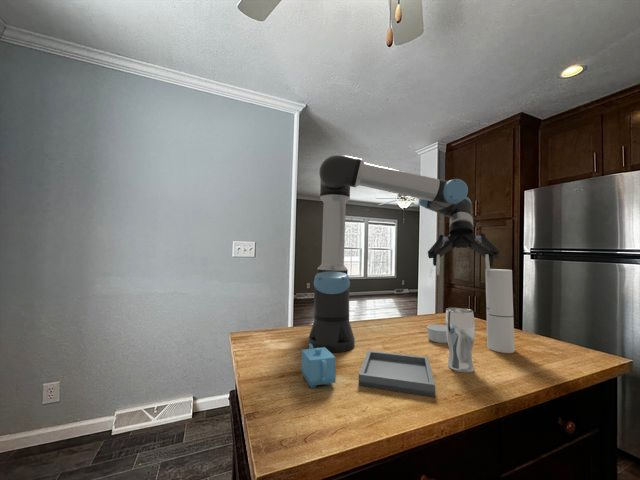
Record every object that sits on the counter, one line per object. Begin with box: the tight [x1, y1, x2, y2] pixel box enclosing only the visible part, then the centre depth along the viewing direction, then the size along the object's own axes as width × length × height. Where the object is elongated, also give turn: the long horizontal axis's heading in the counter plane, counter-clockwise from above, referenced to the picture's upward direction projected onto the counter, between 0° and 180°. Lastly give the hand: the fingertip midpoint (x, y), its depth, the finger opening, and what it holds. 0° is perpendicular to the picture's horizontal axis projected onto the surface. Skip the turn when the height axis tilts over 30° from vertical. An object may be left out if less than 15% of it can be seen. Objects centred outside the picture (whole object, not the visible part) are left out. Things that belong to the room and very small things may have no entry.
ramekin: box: [426, 324, 448, 344], centre depth 95 cm, size 9×9×4 cm
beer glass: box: [444, 307, 476, 374], centre depth 72 cm, size 7×7×15 cm
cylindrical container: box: [484, 268, 515, 354], centre depth 86 cm, size 7×7×25 cm
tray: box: [358, 350, 436, 398], centre depth 66 cm, size 16×16×2 cm
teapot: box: [300, 342, 337, 388], centre depth 64 cm, size 12×6×8 cm, turn 19°
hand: (462, 273), depth 82 cm, fingers open, 13 cm apart
